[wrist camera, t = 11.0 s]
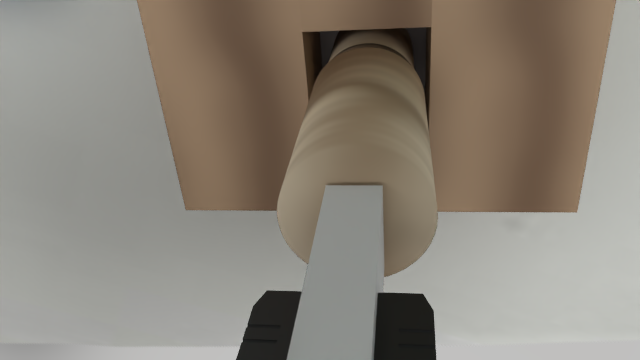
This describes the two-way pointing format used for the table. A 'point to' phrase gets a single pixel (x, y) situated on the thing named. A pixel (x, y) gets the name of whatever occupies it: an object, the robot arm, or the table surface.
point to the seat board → (429, 63)
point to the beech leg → (365, 145)
